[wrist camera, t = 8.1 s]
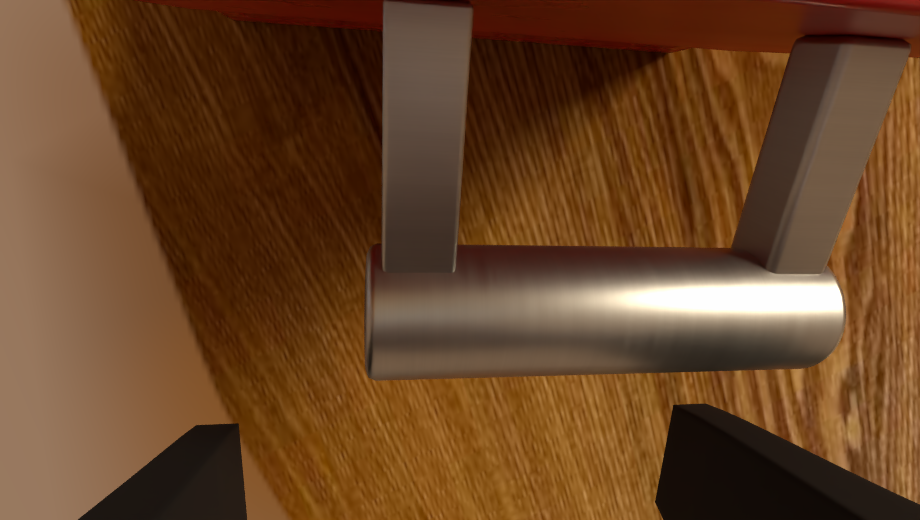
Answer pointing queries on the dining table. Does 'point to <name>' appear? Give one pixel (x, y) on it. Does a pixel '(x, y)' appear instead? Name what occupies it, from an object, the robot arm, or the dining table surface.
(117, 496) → the robot arm
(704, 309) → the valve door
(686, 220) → the dining table surface
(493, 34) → the red box base
